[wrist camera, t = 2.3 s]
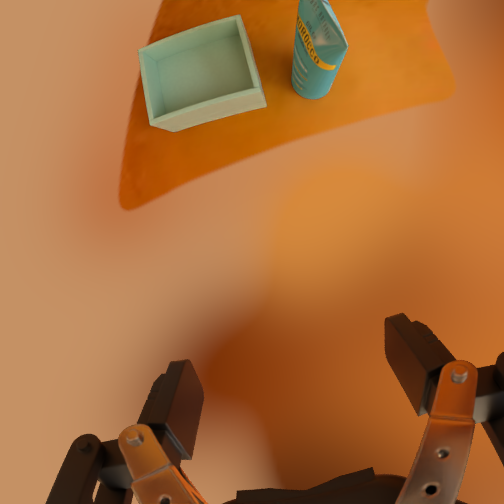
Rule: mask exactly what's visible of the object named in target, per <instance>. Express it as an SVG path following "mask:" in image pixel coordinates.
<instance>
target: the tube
mask: <svg viewBox="0 0 504 504" xmlns="http://www.w3.org/2000/svg"><path fill="white" fill-rule="evenodd" d="M348 46H349V45H348V44H347V41H346V39H345V36H344V34H343V31H342V29H341V27H340V25H339V22H338V20H337V18H336V16H335V14H334V12H333V10H332V8H331V6H330V4H329V2H328V1H327V0H300V1H299V8H298V15H297V24H296V33H295V43H294V53H293V65H292V77H291V82H292V86H293V88H294V90H295V91H296V92H297V93H298V94H299V95H300V96H302V97H304V98H307V99H318V98H321V97H323V96H325V95H326V94H327V93H328V92H329V90H330V88H331V86H332V83H333V81H334V78H335V76H336V74H337V71H338V69H339V67H340V65H341V62H342V60H343V58H344V56H345V54H346V51H347V49H348Z"/></svg>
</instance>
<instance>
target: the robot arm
mask: <svg viewBox="0 0 504 504" xmlns="http://www.w3.org/2000/svg"><path fill="white" fill-rule="evenodd" d="M385 354H386V358H387V361H388V363H389V365H390V366H391V368H392V370H393V371H394V373H395V375H396V377H397V379H398V380H399V382H400V384H401V386H402V387H403V389H404V391H405V393H406V395H407V397H408V398H409V400H410V402H411V404H412V406H413V408H414V410H415V411H416V413H417V415H418V416H421V415H423V414H425V413H428V415H429V419H428V422H427V426H426V429H425V432H424V435H423V438H422V440H421V443H420V446H419V449H418V452H417V454H416V457H415V459H414V462H413V465H412V467H411V469H410V472H409V474H408V477H407V478H406V477H403V476H399V475H392V474H374V470H373V467H371V468H368V469H364V470H361V471H357V472H354V473H350V474H346V475H342V476H339V477H337V478H334V479H332V480H330V481H328V482H325V483H323V484H321V485H318V486H316V487H313V488H311V489H308V490H284V489H273V488H267V489H256V490H242V491H237V496H236V499H234V500H231V501H228V502H225V503H223V504H467V503H465V502H462V501H460V500H457V496H458V492H459V489H460V486H461V483H462V480H463V476H464V473H465V469H466V465H467V461H468V457H469V453H470V448H471V444H472V439H473V433H474V428H475V424H476V423H481V424H482V426H483V428H484V429H485V431H486V433H487V435H488V437H489V438H490V440H491V442H492V444H493V446H494V448H495V450H496V452H497V454H498V456H499V458H500V460H501V462H502V464H503V466H504V352H502V353H501V354H500V355H499V356H498V358H497V361H496V364H495V365H490V366H486V367H481V368H476V367H475V366H474V365H473V364H472V363H470V362H468V361H464V360H456V359H455V358H454V356H453V355H452V354H451V353H450V352H449V351H448V349H447V348H446V347H445V346H444V345H443V344H442V342H441V341H440V340H438V338H437V337H436V336H435V335H434V334H433V332H432V331H431V330H430V329H429V328H428V327H427V325H424V324H422V323H420V322H418V321H414V322H411V321H410V320H409V319H408V318H407V317H406V315H405V314H404V313H400V314H397V315H394V316H390V317H387V318H386V319H385ZM150 391H151V393H149V395H148V400H146V403H145V405H144V407H143V410H142V412H141V414H140V417H139V419H138V422H137V424H135V425H131V426H129V427H127V428H126V429H124V430H123V431H122V432H121V434H120V435H119V438H118V439H115V440H110V441H106V442H101V441H100V440H99V439H98V438H97V436H95V435H93V434H84V435H82V436H80V437H78V438H77V439H76V440H75V441H74V442H73V443H72V445H71V447H70V449H69V451H68V453H67V455H66V458H65V460H64V462H63V464H62V466H61V469H60V471H59V473H58V475H57V478H56V480H55V483H54V485H53V487H52V489H51V492H50V494H49V497H48V499H47V501H46V504H131V502H132V498H133V494H134V495H135V497H136V499H137V501H138V503H139V504H208V503H207V502H206V501H205V499H204V498H203V497H202V496H201V494H200V493H199V492H198V491H197V489H196V488H195V486H194V485H193V484H192V482H191V481H190V480H189V478H188V477H187V476H186V474H185V473H184V471H183V470H182V468H181V467H180V463H181V460H191V459H192V455H193V450H194V445H195V440H196V435H197V430H198V425H199V420H200V416H201V411H202V406H203V401H204V392H203V388H202V385H201V383H200V381H199V379H198V376H197V374H196V372H195V370H194V368H193V365H192V363H191V361H190V360H188V359H187V360H180V361H171V362H170V364H169V366H168V369H167V372H166V374H161V375H160V376H159V377H158V378H157V380H156V381H155V382H154V383H153V386H152V388H151V390H150ZM97 480H98V481H99V482H100V486H99V489H98V491H97V495H96V498H95V501H94V502H93V499H92V496H93V492H94V489H95V486H96V483H97Z"/></svg>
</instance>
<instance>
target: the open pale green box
mask: <svg viewBox="0 0 504 504" xmlns="http://www.w3.org/2000/svg"><path fill="white" fill-rule="evenodd" d="M138 55H139V63H140V69H141V76H142V83H143V89H144V95H145V101H146V106H147V112H148V117H149V123H150V125H151V126H154V127H158V128H161V129H165V130H168V131H171V132H177V131H180V130H183V129H186V128H189V127H193V126H196V125H199V124H202V123H206V122H209V121H213V120H216V119H220V118H223V117H227V116H231V115H235V114H239V113H243V112H247V111H251V110H255V109H260V108H264V107H267V104H266V100H265V96H264V92H263V88H262V85H261V81H260V77H259V73H258V70H257V66H256V62H255V59H254V55H253V51H252V48H251V44H250V41H249V38H248V35H247V32H246V30H245V27H244V24H243V21H242V19H241V16H240V14H239V15H235V16H231V17H227V18H224V19H220V20H217V21H213V22H210V23H207V24H203V25H200V26H197V27H194V28H191V29H188V30H186V31H183V32H180V33H177V34H175V35H172V36H169V37H167V38H164V39H162V40H159V41H157V42H155V43H152V44H150V45H148V46H145V47H143V48H141V49H139V50H138Z"/></svg>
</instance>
